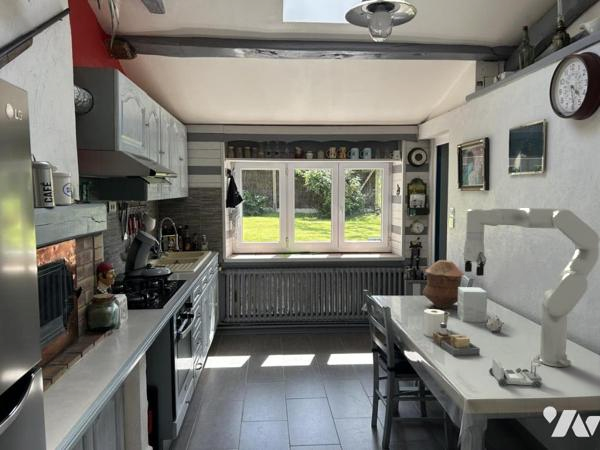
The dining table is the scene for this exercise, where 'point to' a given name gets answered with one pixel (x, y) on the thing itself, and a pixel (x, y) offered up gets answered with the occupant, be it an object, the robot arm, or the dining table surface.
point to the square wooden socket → (440, 338)
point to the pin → (443, 329)
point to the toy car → (516, 374)
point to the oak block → (460, 341)
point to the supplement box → (472, 304)
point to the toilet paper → (432, 321)
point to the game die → (494, 324)
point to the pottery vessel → (443, 283)
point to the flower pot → (446, 316)
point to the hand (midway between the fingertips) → (473, 273)
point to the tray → (460, 352)
